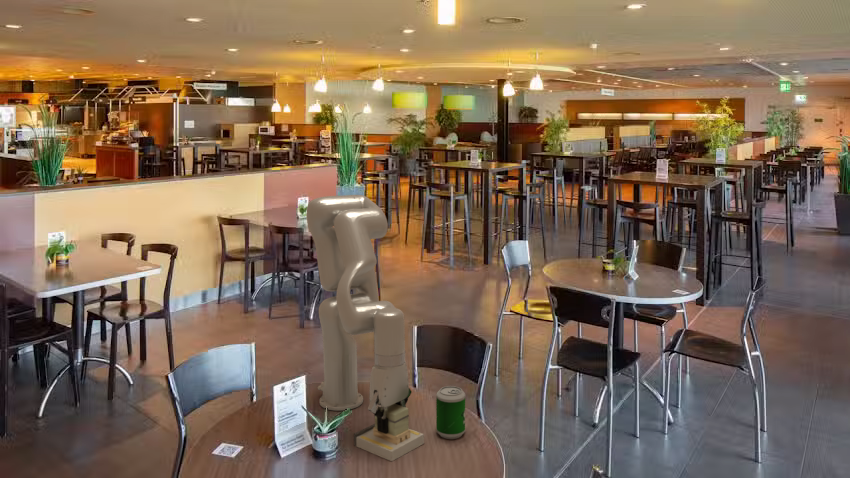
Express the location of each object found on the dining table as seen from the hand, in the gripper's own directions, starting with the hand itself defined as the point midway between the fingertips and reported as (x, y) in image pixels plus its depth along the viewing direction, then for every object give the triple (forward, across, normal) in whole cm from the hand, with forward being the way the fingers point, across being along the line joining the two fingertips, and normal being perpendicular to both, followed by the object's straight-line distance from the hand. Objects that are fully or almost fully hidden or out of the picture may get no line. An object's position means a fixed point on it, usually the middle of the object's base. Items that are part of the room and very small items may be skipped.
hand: (390, 427), depth 168 cm
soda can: (+5, -14, +8) cm, 17 cm away
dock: (+5, 0, 0) cm, 5 cm away
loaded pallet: (+2, 0, 0) cm, 2 cm away
